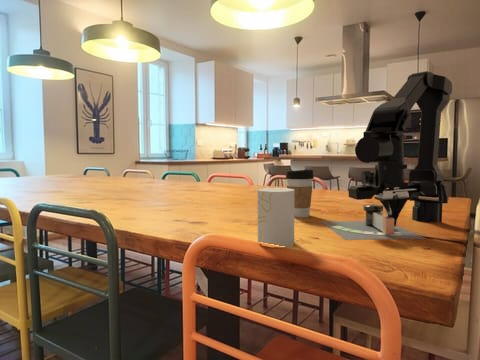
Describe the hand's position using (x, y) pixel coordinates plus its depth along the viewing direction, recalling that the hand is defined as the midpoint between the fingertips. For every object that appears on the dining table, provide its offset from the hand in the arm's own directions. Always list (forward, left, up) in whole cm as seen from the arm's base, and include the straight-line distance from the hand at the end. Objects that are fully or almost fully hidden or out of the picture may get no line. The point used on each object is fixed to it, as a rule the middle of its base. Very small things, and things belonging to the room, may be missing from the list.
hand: (392, 226), depth 81 cm
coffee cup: (+17, -24, -3) cm, 30 cm away
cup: (+28, +4, -3) cm, 29 cm away
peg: (+2, -3, -2) cm, 4 cm away
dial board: (+4, -4, -3) cm, 7 cm away
